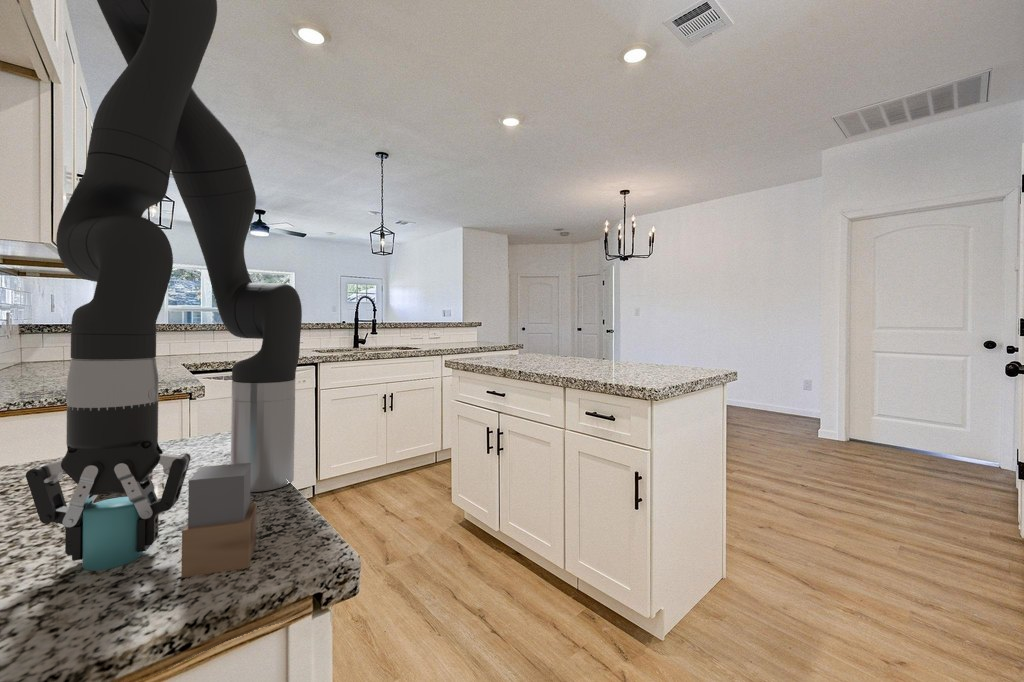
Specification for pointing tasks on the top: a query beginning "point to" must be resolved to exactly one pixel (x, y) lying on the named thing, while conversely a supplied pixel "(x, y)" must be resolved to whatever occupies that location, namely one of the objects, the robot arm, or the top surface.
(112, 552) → the teal cylinder
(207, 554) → the walnut base block
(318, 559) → the top surface
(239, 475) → the charcoal top block
